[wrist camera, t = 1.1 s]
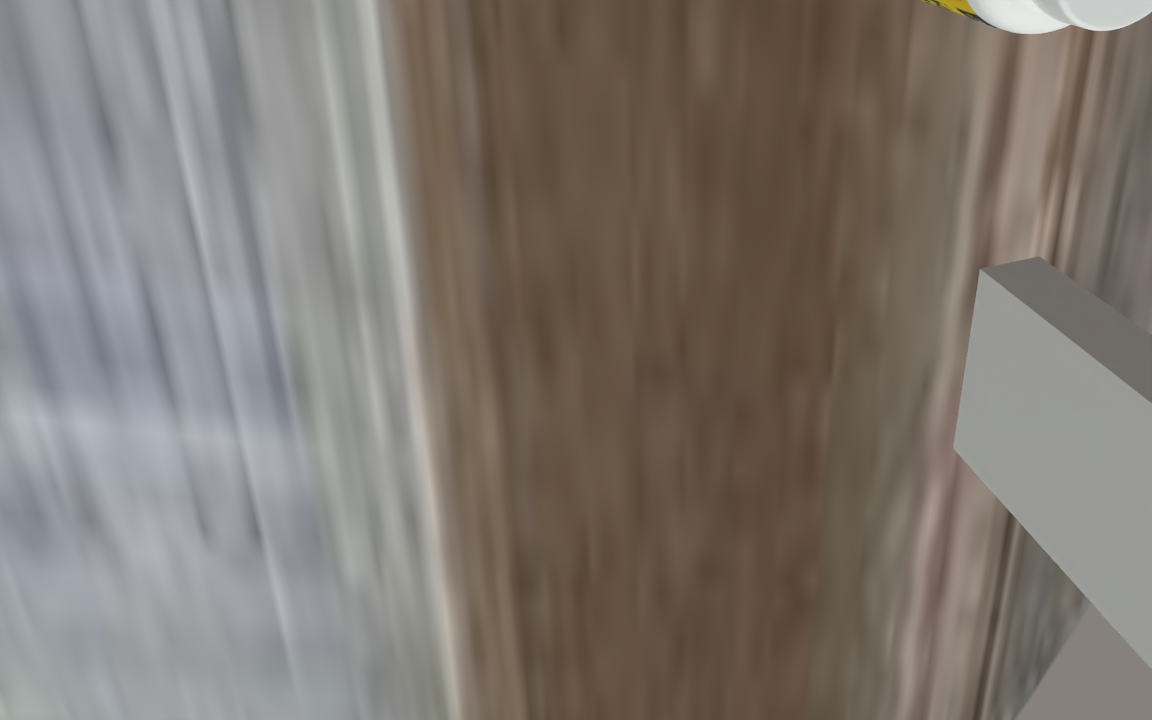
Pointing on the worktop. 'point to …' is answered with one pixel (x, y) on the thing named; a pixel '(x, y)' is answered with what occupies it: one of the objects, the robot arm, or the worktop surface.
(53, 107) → the worktop surface
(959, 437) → the robot arm
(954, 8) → the supplement bottle
